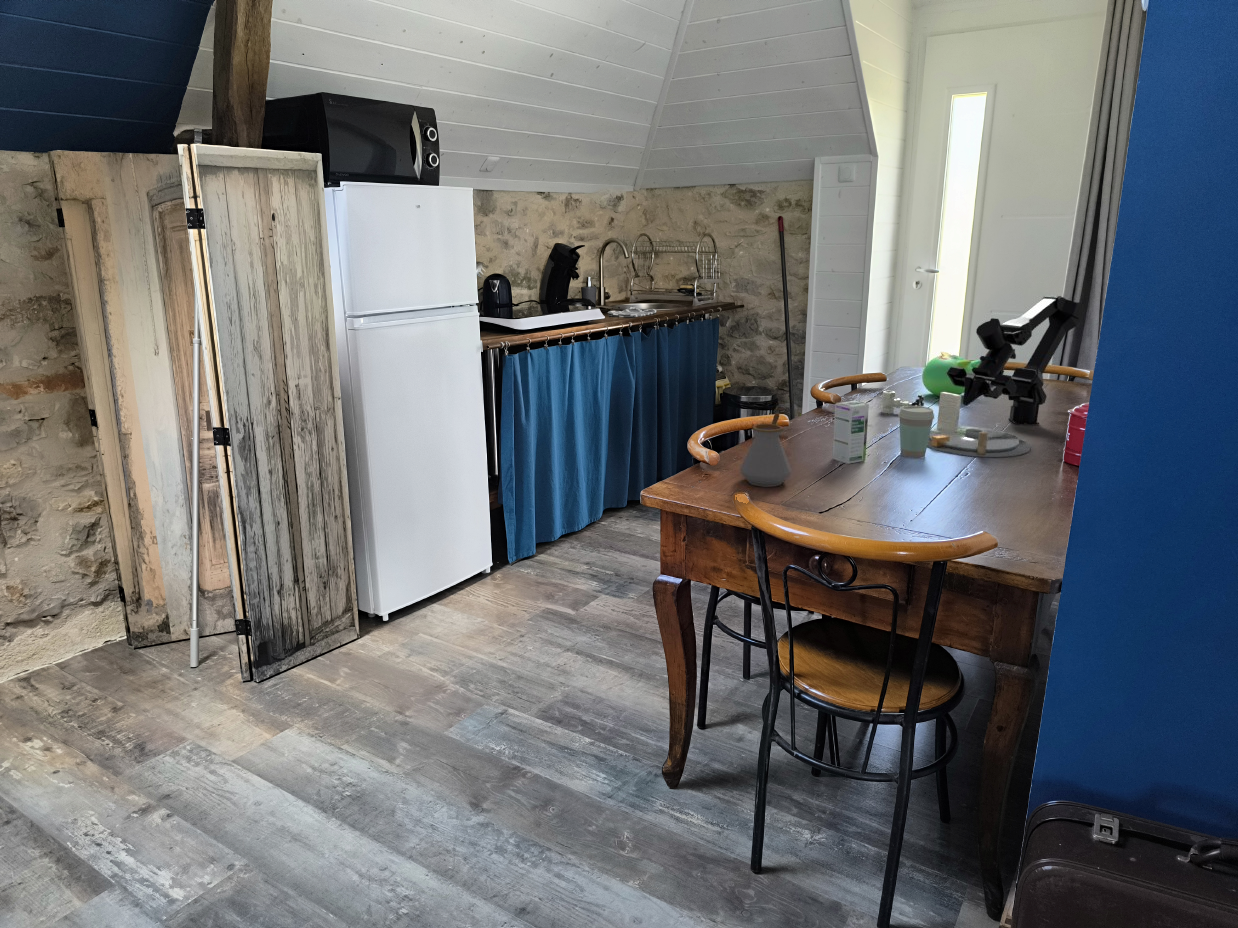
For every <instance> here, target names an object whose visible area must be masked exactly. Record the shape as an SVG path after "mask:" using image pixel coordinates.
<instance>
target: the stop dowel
mask: <svg viewBox="0 0 1238 928" xmlns="http://www.w3.org/2000/svg"><path fill="white" fill-rule="evenodd" d="M987 438H988V433H987V432H979V440H978V448H977V455H981V456H984V455H985V454H986V446H987Z"/></svg>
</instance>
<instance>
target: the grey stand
mask: <svg viewBox="0 0 1238 928" xmlns="http://www.w3.org/2000/svg"><path fill="white" fill-rule="evenodd" d="M961 403H962V394H960V395H957V394H952V393H947V392H941V393H940V396H939V403H938V412H937V423H936V428H934V429H931V431H930V435H929V439H930V440H931V445H933V446H936V447H939V446H945V447H949V448H954V449H959V450H966V451H977V448H978V440H979V432H987V433H988V438H987V446H986V452H1000V451H1008V450H1013V449H1015V448H1017V447H1018V445H1019V439H1020V438H1019V437H1017V436H1016V435H1015V434H1012V433H1009V432H1005V431H1002V430H997V429H993V428H987V427H977V426H963V425H962V426H961V425H959V422H960V421H959V420H960V413H961V412H960V410H961Z"/></svg>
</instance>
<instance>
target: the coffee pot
mask: <svg viewBox="0 0 1238 928" xmlns="http://www.w3.org/2000/svg"><path fill="white" fill-rule="evenodd" d="M782 407H783V408H784V410H782ZM785 411H786V407H785V406H783V405H782V404H779V405H777V406H776V407H775V413H774V415H773V417H772V418H773V419H772V422H771V423H760V424H755V425H753V427H752V429H753V430H754V434H755V436H754V438H753V440H752V443H751V445H750V447H749V449H748V451H747V453H746V455H745V457H744V459H743V461H742V464H741V465H740V469H739V470H740V474H741V475H742V476H743V477H742V478H744V479H745V480H747V482H748V483H749V484H751V485H754V486H757V487H765V488H768V487H772V488H773V487H777V486H781V485H782V484H783V482H785V481H786V480H787V479H789V478H790V475H791V474H792V468H791V465H790V462H789V460H788V458H787V456H786V452H785V450H784V447H783V444H782V442H781V440H780V435H781V433H782V432H783V431H784V428H783V427H782V426H781V425H778V424H777V423H778V421H779V418H780V414H781V413H784V412H785Z"/></svg>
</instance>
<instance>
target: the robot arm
mask: <svg viewBox="0 0 1238 928" xmlns="http://www.w3.org/2000/svg"><path fill="white" fill-rule="evenodd" d="M1085 313H1086V308H1085V307H1084V306H1083V304H1082V302H1080V301H1079V302H1078V301H1073V300H1070V299H1068V298H1067V299H1066V298H1065V297H1063V296H1061V295H1050V294H1047V295H1044V296H1043V297H1042V298H1041V300H1040V301H1039V302H1037V303H1036V304H1035V305H1034V306H1033V307H1031V308H1030V309H1028V311H1026V312H1024V314H1022V315H1021V316H1019V317H1017V318H1013V319H1009V320H1007V321H1006V322H1004V323H1001V321H1000V320H999V318H993V317H992V318H990V319H989V320H988V321H985V322H983V323H981V324H979V325H978V326H977V328H976V331H975V332H976V335H977V337H978V339H979V341H980V342H981V345H982V346H983V347H984V349H986V350H988V351H987V353H986V354H985V355H981V356H980V357H979V359H978V360H981V362H980V364H979V365H978V367H977V368H976V367H973V369H972V372H973V373H969V372H967V373H966V371H965V369H964V368H959V367H950V369H949V370H948V372H947V375H948V376H949V378H950V380H951V381H952V383H953V384H954V385H955V386H959V387H965V390H964V393H963V397H962V404H963V406H969V405H970V404H971V403H972V402H974V401H975V400H977V399H978V398H980V397H982V396H983V397H984V398H990V399H991V398H992V399H993V400H996V399H998V398H1000V396H1002V395H1003V396H1007V397H1008V401H1013V402H1012V405H1011V406H1010V411H1009V418H1008V420H1009V421H1010V422H1012V423H1014V424H1015V425H1036V426H1037V425H1040V422H1039V421H1038V419H1039V418H1038V416H1039V409H1040V406H1041V405H1043V404H1045V403H1046V400H1047V394H1046V392H1045V390H1044V388H1043V386H1044V376H1043V375H1044V372H1045V370H1046V369H1047V367H1048V365H1049V363H1050V361H1051V360H1052V358H1053V356H1054V355H1055V353H1056V351H1057V349H1058V348H1059V346H1060V344H1061V342H1062V340H1063V338H1064V337H1065V335H1066V334H1067V333H1068V332H1069V331H1071V330H1073V329H1074V328H1076V327H1077V326H1078V325H1079V323H1080V322H1081V321H1082V320H1083V318H1084V316H1085ZM1047 319H1048V326H1047V328H1046V330H1045V332H1044V333H1043V335H1042V337H1041V339H1040V340H1039V342H1038V344H1037V346H1036V347H1035V349H1034V352H1033V353H1032V355H1031V356H1030V358H1029V361H1028V362H1027V363H1026V365H1025V366H1024V367H1016V368H1015V369H1014V371H1013V374H1012V375H1007V374H1004V373H1005V370H1004V368H1005V366H1006V365H1007V363H1008V361H1009V359H1012V360H1016V359H1017V354H1016V349H1015V348H1013V346H1018V347H1019V346H1021V347H1022V346H1024V345H1025V344H1026V343H1027V342H1028V341H1029V340H1030V339H1031V337H1033V336H1032V335H1033V331H1034V330H1035V329H1036V328H1037V327H1038V326H1040V325H1041V324H1042V323H1044V322H1045V321H1046V320H1047ZM1012 345H1013V346H1012Z"/></svg>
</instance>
